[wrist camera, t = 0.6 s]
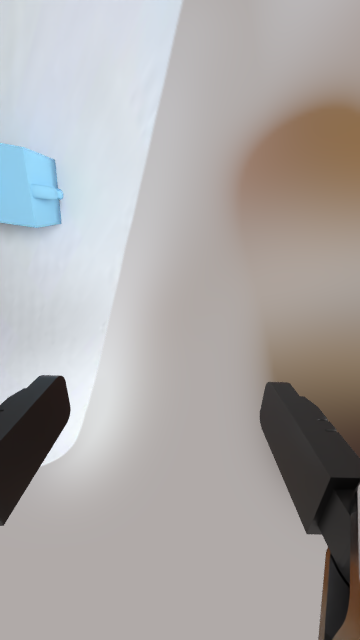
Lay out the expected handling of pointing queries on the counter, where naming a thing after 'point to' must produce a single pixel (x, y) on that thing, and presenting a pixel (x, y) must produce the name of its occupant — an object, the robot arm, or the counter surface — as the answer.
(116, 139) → the counter surface
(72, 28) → the counter surface
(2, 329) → the counter surface
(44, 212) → the teapot
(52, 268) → the counter surface
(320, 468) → the robot arm
